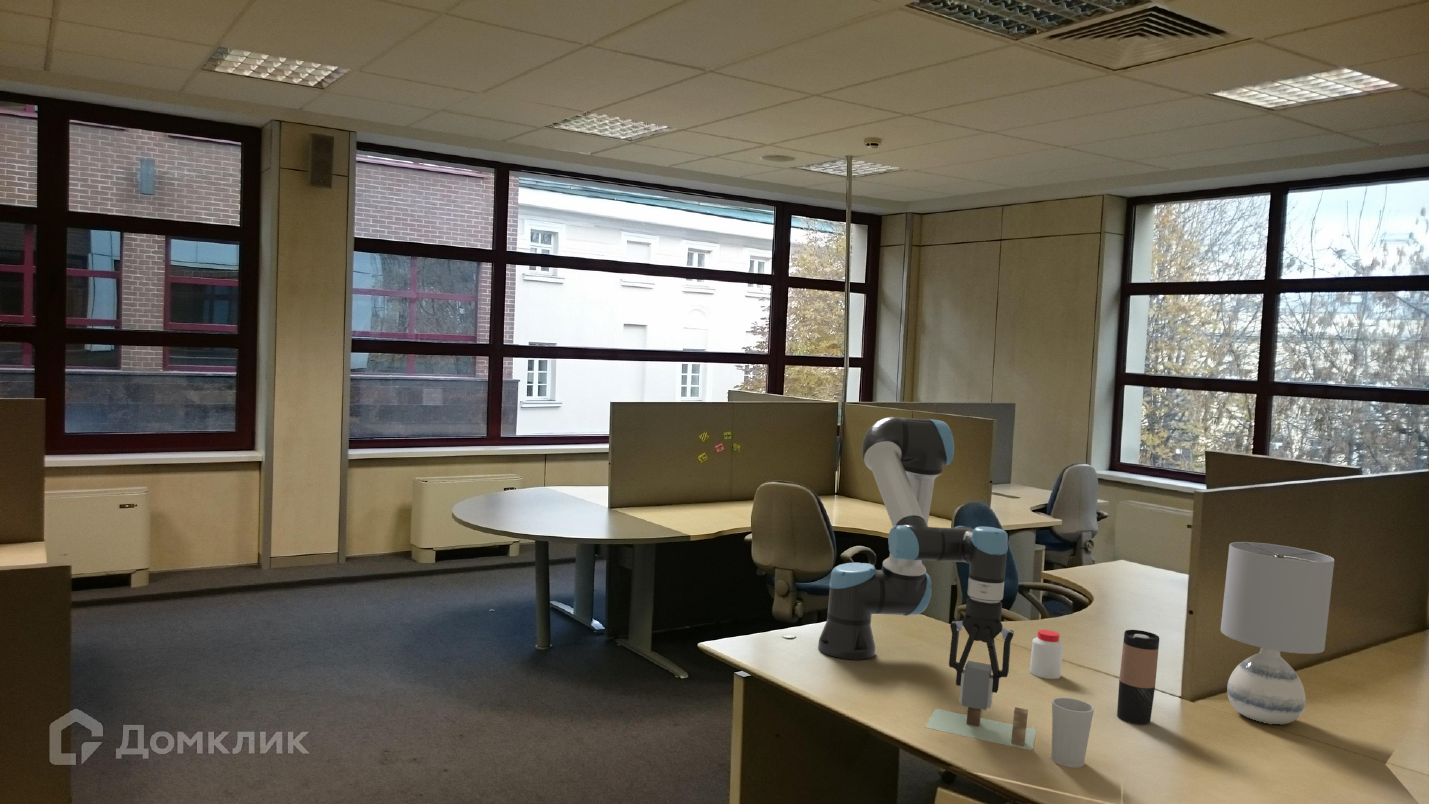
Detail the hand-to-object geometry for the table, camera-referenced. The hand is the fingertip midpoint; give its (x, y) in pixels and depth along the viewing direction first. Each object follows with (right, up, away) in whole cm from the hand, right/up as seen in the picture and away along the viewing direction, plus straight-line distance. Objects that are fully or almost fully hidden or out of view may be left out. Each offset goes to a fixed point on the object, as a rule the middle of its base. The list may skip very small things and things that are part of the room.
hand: (975, 703), depth 215 cm
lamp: (+74, -10, +20) cm, 77 cm away
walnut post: (0, -5, 0) cm, 5 cm away
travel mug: (+40, -8, +12) cm, 42 cm away
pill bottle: (+29, -5, +41) cm, 51 cm away
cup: (+14, -7, -16) cm, 23 cm away
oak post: (+7, -6, -9) cm, 12 cm away
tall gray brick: (0, 0, 0) cm, 0 cm away
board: (+1, -5, -2) cm, 6 cm away
